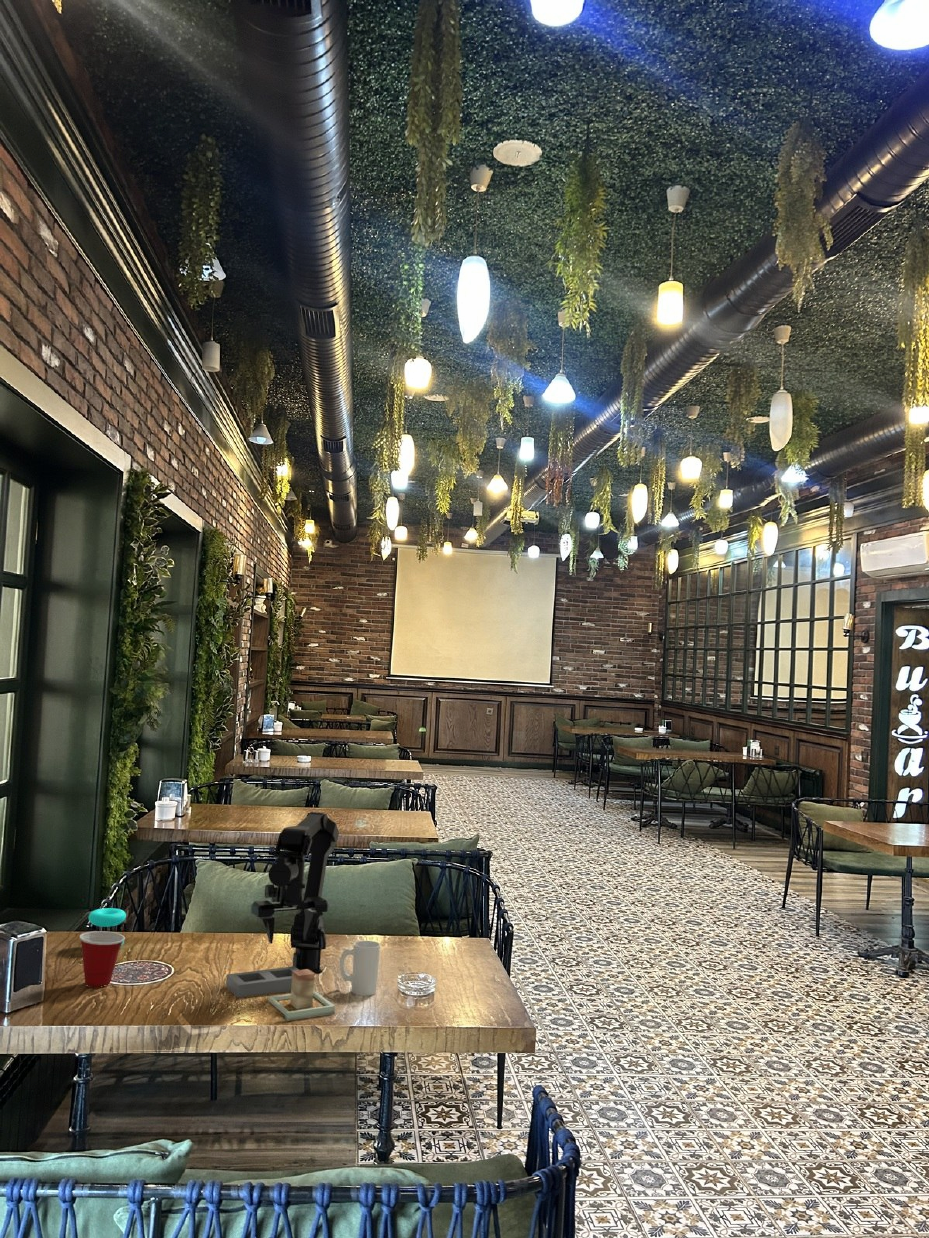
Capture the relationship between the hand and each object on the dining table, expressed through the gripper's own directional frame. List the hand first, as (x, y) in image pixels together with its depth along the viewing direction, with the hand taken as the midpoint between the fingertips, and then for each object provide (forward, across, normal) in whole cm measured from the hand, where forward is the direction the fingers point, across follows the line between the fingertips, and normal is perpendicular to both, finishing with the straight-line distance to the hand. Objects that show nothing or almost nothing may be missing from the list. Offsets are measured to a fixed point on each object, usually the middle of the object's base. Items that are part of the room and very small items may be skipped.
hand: (287, 941), depth 236 cm
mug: (+13, -17, +7) cm, 22 cm away
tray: (+12, +1, +13) cm, 18 cm away
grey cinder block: (+12, +4, -2) cm, 13 cm away
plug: (+12, +1, +13) cm, 18 cm away
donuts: (+13, +32, -55) cm, 65 cm away
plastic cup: (+13, +40, -23) cm, 48 cm away
